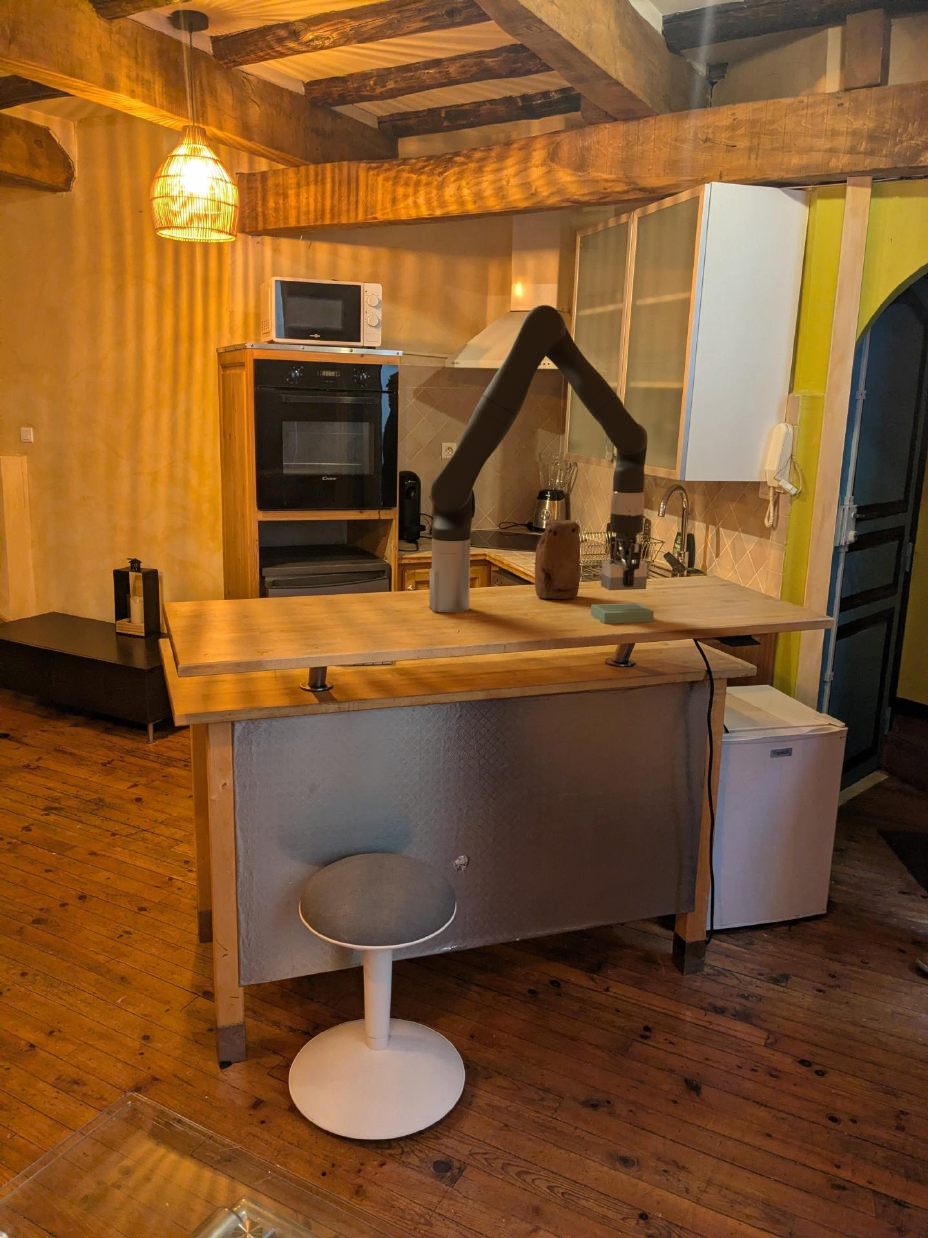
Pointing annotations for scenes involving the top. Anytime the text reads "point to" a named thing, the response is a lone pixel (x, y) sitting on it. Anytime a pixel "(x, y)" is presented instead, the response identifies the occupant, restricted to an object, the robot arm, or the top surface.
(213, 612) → the top surface
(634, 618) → the stand
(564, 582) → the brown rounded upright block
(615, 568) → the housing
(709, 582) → the top surface
